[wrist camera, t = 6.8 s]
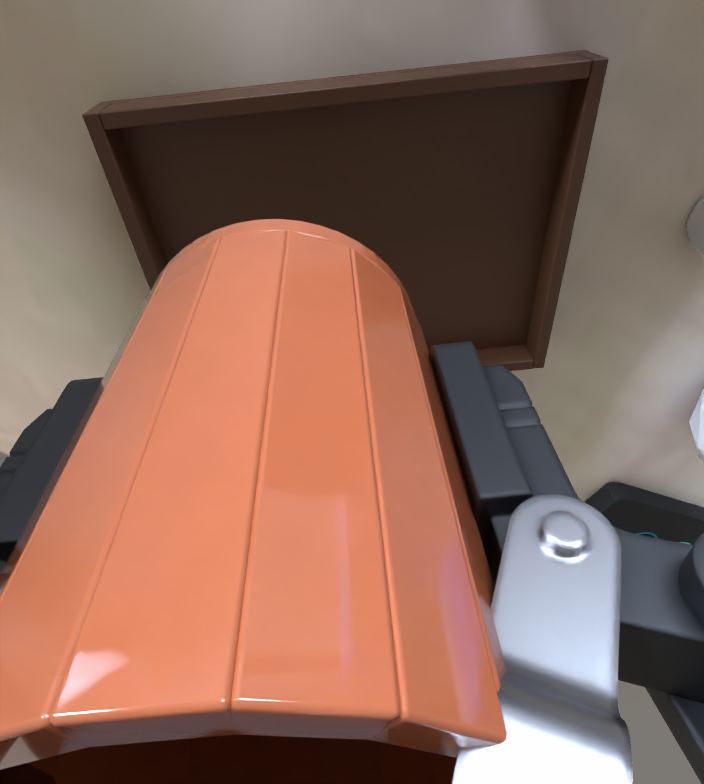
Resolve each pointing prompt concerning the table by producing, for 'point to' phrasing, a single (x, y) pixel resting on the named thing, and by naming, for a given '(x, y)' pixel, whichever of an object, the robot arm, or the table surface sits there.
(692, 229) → the milkshake
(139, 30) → the table surface
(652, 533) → the smart home device
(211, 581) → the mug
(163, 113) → the tray
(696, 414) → the geometric ball
